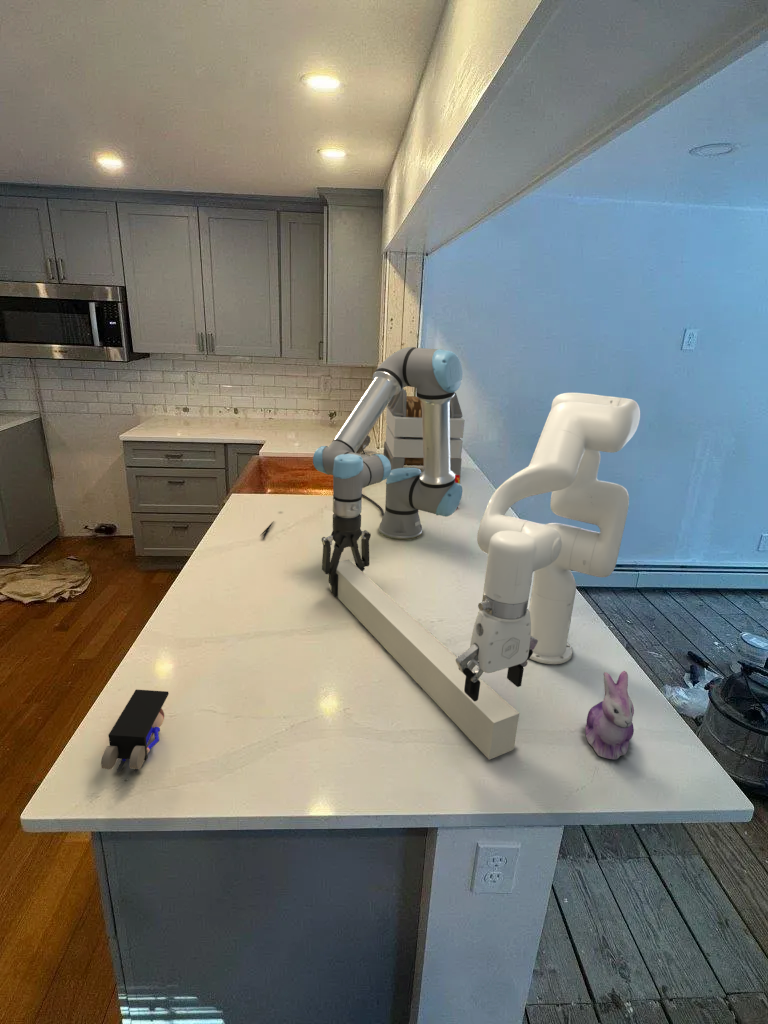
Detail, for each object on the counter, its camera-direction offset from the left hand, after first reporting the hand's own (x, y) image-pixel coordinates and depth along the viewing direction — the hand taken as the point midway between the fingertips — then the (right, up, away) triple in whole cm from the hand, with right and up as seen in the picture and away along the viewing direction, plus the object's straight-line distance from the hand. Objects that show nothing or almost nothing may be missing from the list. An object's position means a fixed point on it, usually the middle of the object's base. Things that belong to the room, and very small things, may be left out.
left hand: (345, 592), depth 157 cm
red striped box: (+35, +28, +84) cm, 95 cm away
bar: (+15, -10, -25) cm, 31 cm away
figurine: (+53, -21, -51) cm, 76 cm away
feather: (-29, +17, +45) cm, 57 cm away
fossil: (-3, +53, +149) cm, 158 cm away
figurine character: (-32, -20, -57) cm, 68 cm away
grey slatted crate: (+28, +41, +118) cm, 128 cm away
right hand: (+30, -10, -55) cm, 64 cm away
